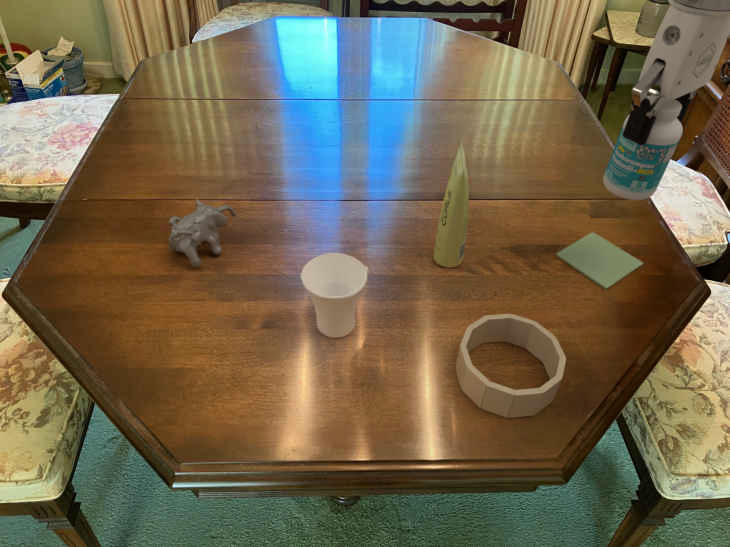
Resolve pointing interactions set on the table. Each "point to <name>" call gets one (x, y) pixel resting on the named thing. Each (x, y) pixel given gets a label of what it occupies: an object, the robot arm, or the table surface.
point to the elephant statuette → (198, 230)
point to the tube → (453, 216)
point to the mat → (599, 260)
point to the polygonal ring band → (521, 335)
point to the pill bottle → (644, 155)
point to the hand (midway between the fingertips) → (651, 130)
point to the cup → (334, 291)
